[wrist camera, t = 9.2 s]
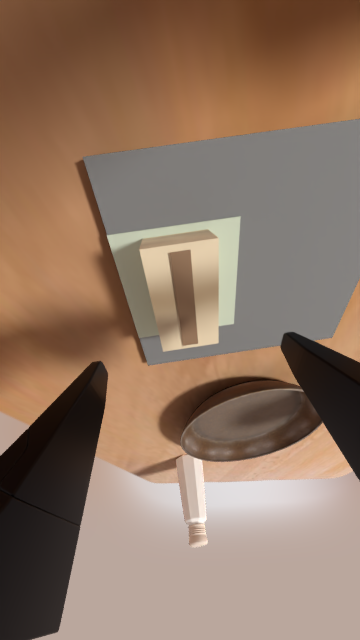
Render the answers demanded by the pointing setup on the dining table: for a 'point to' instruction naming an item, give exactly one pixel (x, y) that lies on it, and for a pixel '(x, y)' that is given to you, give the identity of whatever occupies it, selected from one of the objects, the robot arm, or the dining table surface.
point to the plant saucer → (249, 422)
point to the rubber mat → (243, 228)
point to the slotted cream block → (183, 287)
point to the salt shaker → (193, 497)
